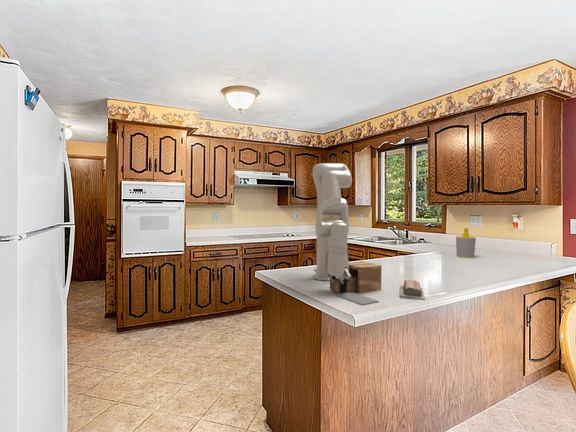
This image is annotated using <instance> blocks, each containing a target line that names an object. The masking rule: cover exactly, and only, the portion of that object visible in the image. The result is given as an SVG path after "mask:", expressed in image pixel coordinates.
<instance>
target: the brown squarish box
mask: <svg viewBox="0 0 576 432" xmlns="http://www.w3.org/2000/svg"><path fill="white" fill-rule="evenodd" d="M382 268H383V267H382V265H381V264H376V263H372V262H367V261H364V260H361V261H354V262H349V273H350V275H351V276H354V275H355V276H358V291H357V294H364V293H370V292H375V291H380V290H382Z"/></svg>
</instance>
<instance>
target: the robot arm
mask: <svg viewBox="0 0 576 432" xmlns="http://www.w3.org/2000/svg"><path fill="white" fill-rule="evenodd" d="M312 179H313V183H314V185H315V188H316V202H317V203H316V204H317V205H316V206H317V211H316V215H315V224H314V227H315V228H314V229H315V237H316V268H314V269H313V272H314V273H315V274H314V275H313V279H314V280H317V281H325V282H326V281H329V289H330V290H331V279H333V278H340V279H341V283H342V284H340V293H342V294H343V293H344V292H347V283H348V281H349V280H350V278H351V275H350V273H349V263H350V262H349V255H348V238H349V237H348V234H349V233H350V232H349V231H350V221H349V220H350V219H349V205H348V201H347V200H346V198H343V197H342V193H341V192H342V190H341V189H347V188H348V189H349V188H350V187H351V186H352V182H353V178H352V172H351V170H350V169H349V167H348V166H347V165H346V164H344V163H331V162H329V163H328V162H327V163H325V162H323V163H317V164H315V165H313V168H312ZM323 216H325V217H323ZM327 216H329V217H327ZM330 216H331V217H330ZM332 216H333V217H332ZM334 216H335V218H334ZM336 216H337V217H336ZM343 278H344V280H343Z"/></svg>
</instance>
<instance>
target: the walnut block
mask: <svg viewBox="0 0 576 432" xmlns="http://www.w3.org/2000/svg"><path fill="white" fill-rule="evenodd" d="M343 280H344V278H343ZM340 284H342V283H341V279H340V278H339V277H338V278H333V279H331V289H330V292H331V293H334V294H336V295H337V294H343V293H340ZM349 292H353V293H355V292H358V276H355V275H354V276H351V278H350V280H349V281H348V283H347V292H344V293H349Z"/></svg>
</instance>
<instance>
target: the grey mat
mask: <svg viewBox="0 0 576 432" xmlns="http://www.w3.org/2000/svg"><path fill="white" fill-rule="evenodd" d="M335 296H337V297H339V298H341V299H344V300H346V301H349V302H352V303H354V304H357V305H360V306H367V305H370V304H371V305H372V304H375V303H379V302H380V301H379V300H376V299H374V298H371V297H368V296H365V295H362V294H360V293H356V292H348V293H342V294H336V295H335Z"/></svg>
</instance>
